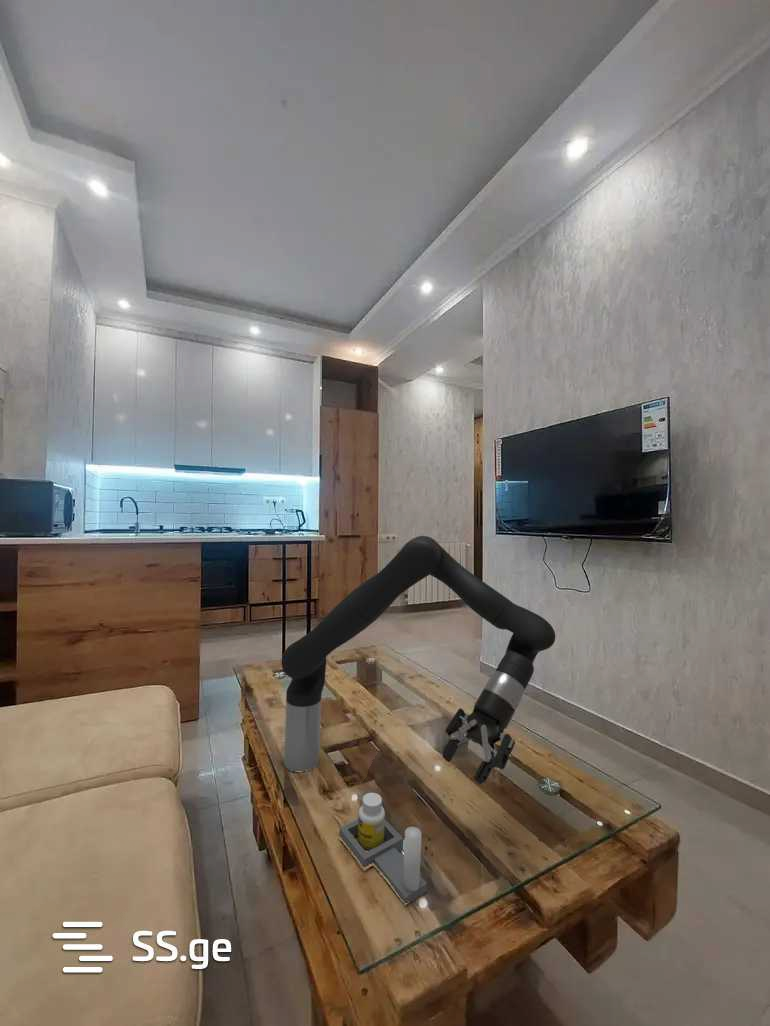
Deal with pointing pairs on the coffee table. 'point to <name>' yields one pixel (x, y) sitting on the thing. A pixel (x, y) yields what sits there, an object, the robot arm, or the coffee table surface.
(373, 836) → the supplement bottle
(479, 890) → the coffee table surface
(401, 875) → the grey square holder tray
